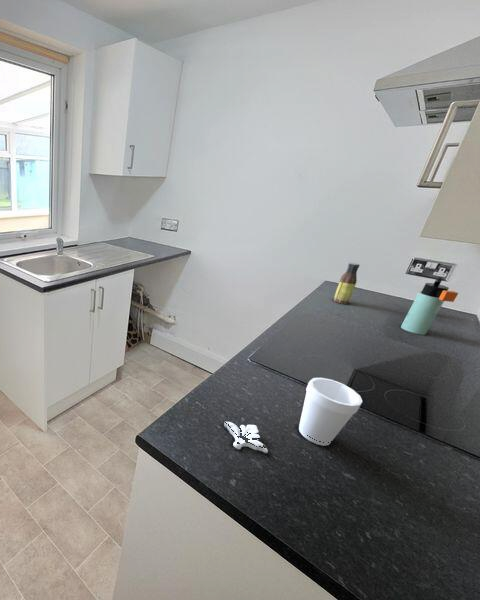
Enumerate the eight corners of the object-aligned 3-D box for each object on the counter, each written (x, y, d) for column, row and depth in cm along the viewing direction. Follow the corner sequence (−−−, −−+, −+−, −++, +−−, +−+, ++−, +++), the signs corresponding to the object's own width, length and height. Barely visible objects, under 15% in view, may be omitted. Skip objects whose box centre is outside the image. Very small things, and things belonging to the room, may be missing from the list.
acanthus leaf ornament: (223, 425, 75) (225, 419, 74) (252, 427, 75) (254, 421, 74) (235, 450, 68) (238, 444, 67) (267, 453, 68) (270, 447, 67)
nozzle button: (453, 302, 117) (458, 293, 116) (442, 300, 118) (446, 291, 116) (449, 300, 119) (454, 291, 117) (438, 298, 119) (443, 290, 118)
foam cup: (287, 434, 73) (306, 390, 68) (294, 414, 80) (312, 372, 75) (337, 458, 68) (361, 412, 63) (340, 434, 74) (363, 391, 69)
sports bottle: (431, 336, 126) (462, 282, 117) (409, 333, 127) (438, 279, 118) (416, 327, 133) (444, 275, 124) (396, 324, 134) (422, 273, 125)
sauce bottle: (351, 304, 154) (367, 266, 146) (340, 304, 153) (356, 265, 145) (339, 299, 160) (354, 262, 152) (328, 299, 159) (343, 262, 151)
